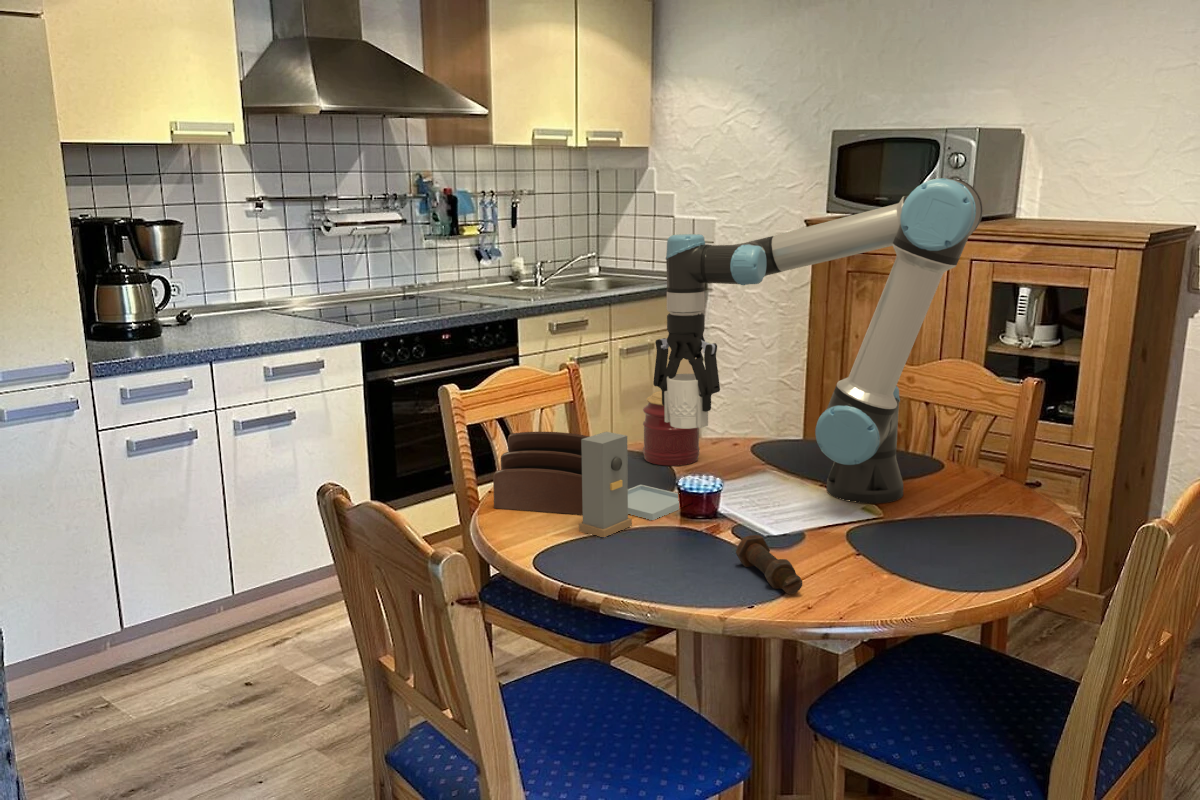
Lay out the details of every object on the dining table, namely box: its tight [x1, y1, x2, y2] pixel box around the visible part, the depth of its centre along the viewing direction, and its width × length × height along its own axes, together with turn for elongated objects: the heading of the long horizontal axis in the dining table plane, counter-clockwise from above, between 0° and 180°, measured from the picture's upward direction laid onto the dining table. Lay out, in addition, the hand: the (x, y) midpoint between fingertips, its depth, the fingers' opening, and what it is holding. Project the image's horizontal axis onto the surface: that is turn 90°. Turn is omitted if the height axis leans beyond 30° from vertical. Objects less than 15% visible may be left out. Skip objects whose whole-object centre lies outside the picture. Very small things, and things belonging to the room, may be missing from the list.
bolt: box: [735, 534, 803, 595], centre depth 160 cm, size 6×5×15 cm
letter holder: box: [492, 431, 590, 516], centre depth 197 cm, size 10×20×14 cm, turn 75°
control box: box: [578, 431, 633, 538], centre depth 183 cm, size 6×8×18 cm
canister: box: [642, 390, 700, 467], centre depth 228 cm, size 13×13×18 cm
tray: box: [628, 484, 680, 521], centre depth 197 cm, size 13×13×1 cm
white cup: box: [667, 373, 701, 429], centre depth 203 cm, size 8×8×10 cm
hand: (686, 423), depth 204 cm, fingers closed on white cup, 7 cm apart
